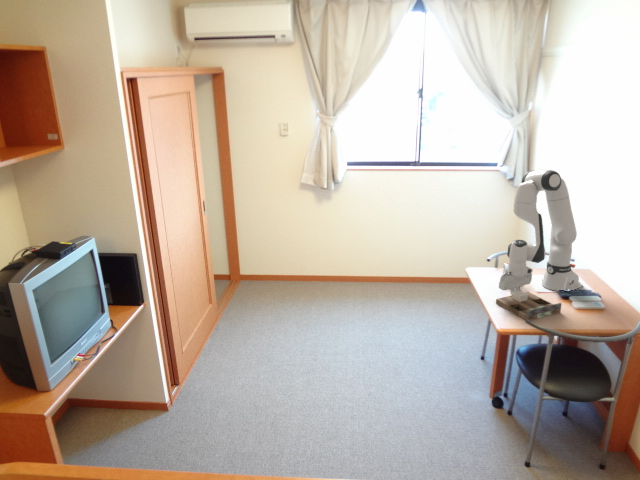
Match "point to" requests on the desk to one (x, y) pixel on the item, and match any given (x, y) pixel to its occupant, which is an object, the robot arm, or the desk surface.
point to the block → (519, 296)
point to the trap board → (529, 307)
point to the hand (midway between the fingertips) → (513, 294)
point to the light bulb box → (505, 268)
